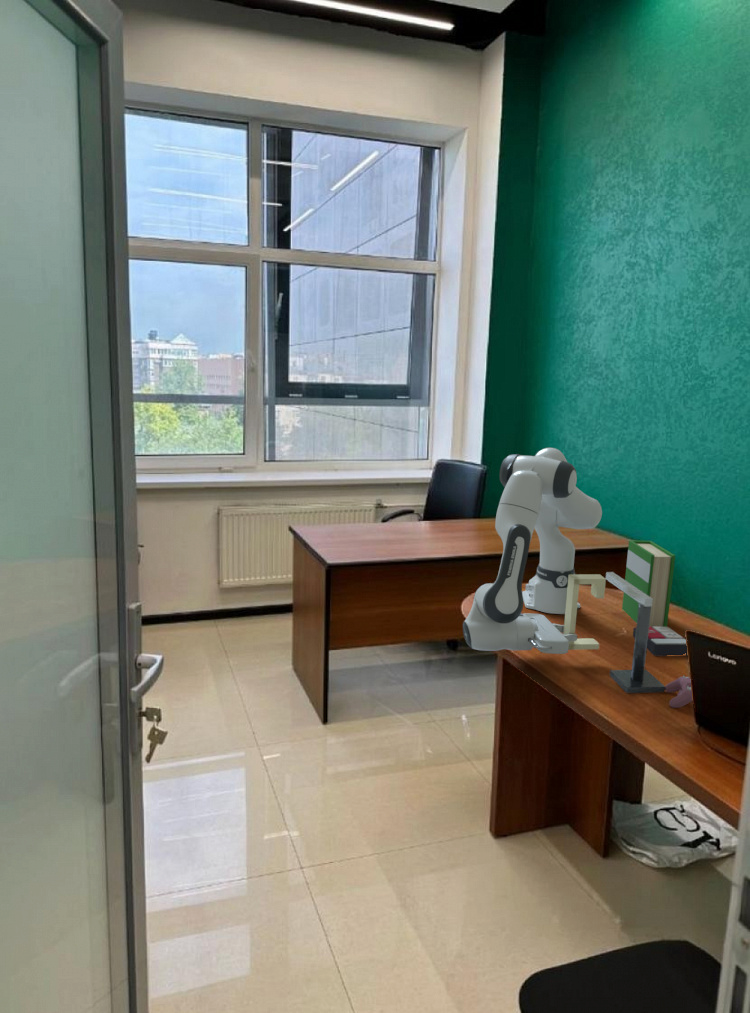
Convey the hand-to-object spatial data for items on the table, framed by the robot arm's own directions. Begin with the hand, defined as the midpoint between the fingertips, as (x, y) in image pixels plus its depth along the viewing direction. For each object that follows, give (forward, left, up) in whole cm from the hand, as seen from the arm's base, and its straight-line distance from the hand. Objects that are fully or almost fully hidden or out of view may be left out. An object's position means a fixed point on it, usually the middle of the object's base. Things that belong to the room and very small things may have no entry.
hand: (572, 632), depth 191 cm
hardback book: (-31, +37, -9) cm, 49 cm away
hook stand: (+6, +12, -8) cm, 16 cm away
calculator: (-10, +32, -9) cm, 35 cm away
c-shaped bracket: (0, +3, -4) cm, 5 cm away
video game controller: (+23, +19, -9) cm, 31 cm away
